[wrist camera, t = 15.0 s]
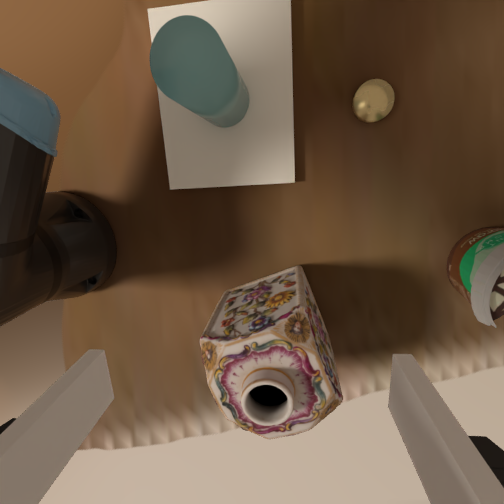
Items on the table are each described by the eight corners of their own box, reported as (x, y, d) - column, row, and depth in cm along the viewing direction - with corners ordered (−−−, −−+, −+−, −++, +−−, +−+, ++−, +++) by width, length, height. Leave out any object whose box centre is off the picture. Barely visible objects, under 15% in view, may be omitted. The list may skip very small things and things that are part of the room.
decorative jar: (223, 288, 43) (178, 366, 26) (300, 261, 41) (308, 327, 24) (254, 358, 46) (233, 472, 28) (329, 336, 43) (356, 446, 26)
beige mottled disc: (360, 130, 36) (362, 128, 35) (345, 94, 35) (347, 91, 34) (396, 111, 35) (400, 109, 34) (382, 74, 34) (385, 70, 33)
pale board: (173, 189, 40) (170, 189, 39) (152, 14, 35) (147, 9, 34) (294, 182, 38) (294, 182, 37) (290, -5, 33) (290, -11, 32)
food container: (511, 195, 36) (592, 204, 26) (537, 236, 36) (625, 259, 27) (416, 255, 39) (457, 283, 29) (441, 292, 40) (490, 330, 30)
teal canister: (202, 129, 37) (155, 107, 24) (196, 75, 35) (144, 21, 23) (251, 125, 36) (228, 99, 23) (247, 68, 34) (221, 9, 22)
